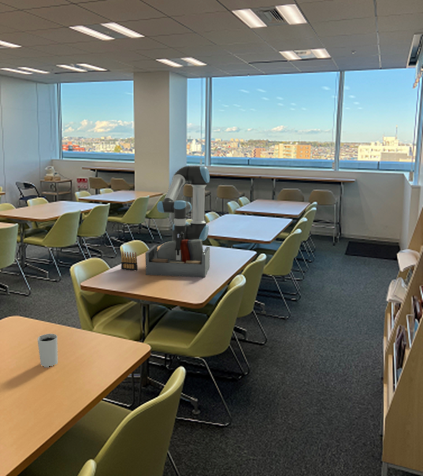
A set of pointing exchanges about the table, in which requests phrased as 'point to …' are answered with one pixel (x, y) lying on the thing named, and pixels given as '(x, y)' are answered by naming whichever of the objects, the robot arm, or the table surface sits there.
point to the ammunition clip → (129, 261)
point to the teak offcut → (194, 262)
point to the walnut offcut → (160, 260)
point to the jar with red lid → (189, 251)
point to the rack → (176, 265)
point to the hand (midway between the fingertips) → (180, 257)
